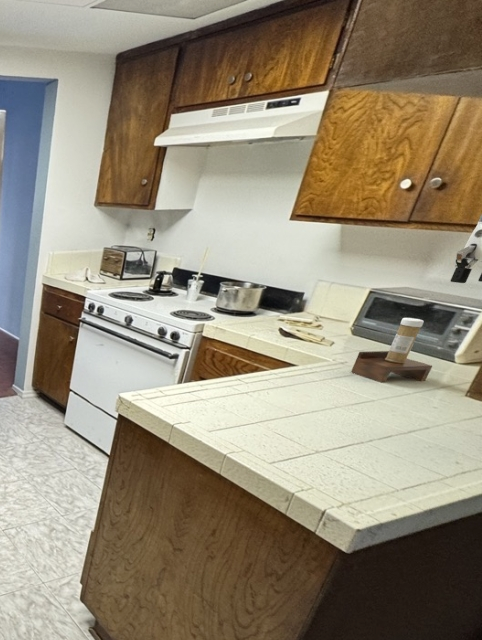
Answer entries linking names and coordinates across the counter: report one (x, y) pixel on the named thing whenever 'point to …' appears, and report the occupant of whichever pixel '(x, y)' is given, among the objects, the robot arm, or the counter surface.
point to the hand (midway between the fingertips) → (471, 282)
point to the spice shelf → (388, 367)
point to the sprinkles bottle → (404, 340)
